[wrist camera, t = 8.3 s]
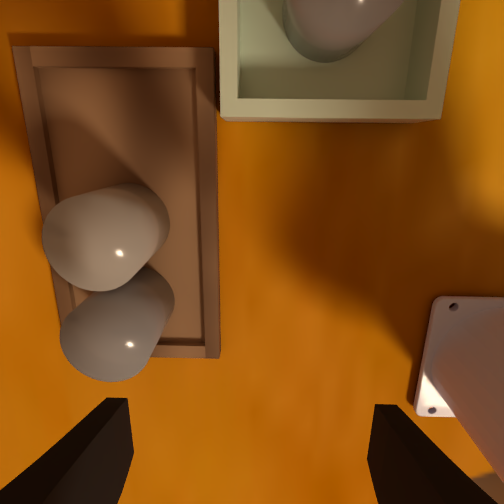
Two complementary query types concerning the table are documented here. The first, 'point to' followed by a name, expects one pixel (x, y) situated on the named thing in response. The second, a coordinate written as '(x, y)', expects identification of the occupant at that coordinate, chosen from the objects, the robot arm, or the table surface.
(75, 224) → the stone mid
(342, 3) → the stone front
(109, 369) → the stone back
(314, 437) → the table surface
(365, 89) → the bin
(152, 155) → the shallow brown tray
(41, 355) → the table surface
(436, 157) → the table surface
